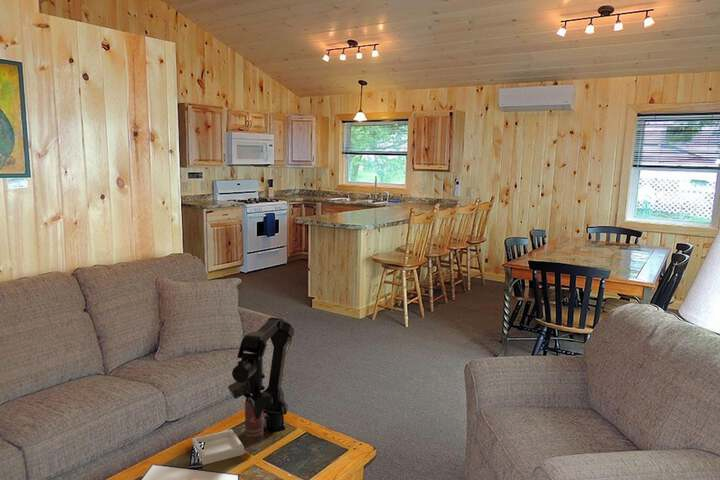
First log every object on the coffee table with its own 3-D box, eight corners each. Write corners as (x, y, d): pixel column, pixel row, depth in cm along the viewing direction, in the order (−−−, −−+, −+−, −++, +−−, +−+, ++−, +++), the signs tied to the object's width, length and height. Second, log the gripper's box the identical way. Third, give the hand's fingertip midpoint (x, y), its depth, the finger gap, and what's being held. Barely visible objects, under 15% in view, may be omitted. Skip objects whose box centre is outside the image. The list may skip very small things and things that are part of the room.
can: (265, 433, 183) (265, 395, 182) (260, 442, 177) (260, 402, 175) (248, 432, 184) (248, 394, 182) (243, 441, 177) (242, 402, 176)
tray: (231, 436, 191) (231, 429, 190) (244, 454, 179) (244, 446, 178) (192, 445, 184) (192, 438, 183) (202, 465, 172) (202, 457, 171)
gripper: (222, 366, 181) (222, 410, 183) (240, 385, 165) (240, 432, 167) (253, 361, 187) (253, 403, 189) (273, 379, 171) (273, 424, 173)
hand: (254, 415), depth 179 cm, fingers closed on can, 5 cm apart
